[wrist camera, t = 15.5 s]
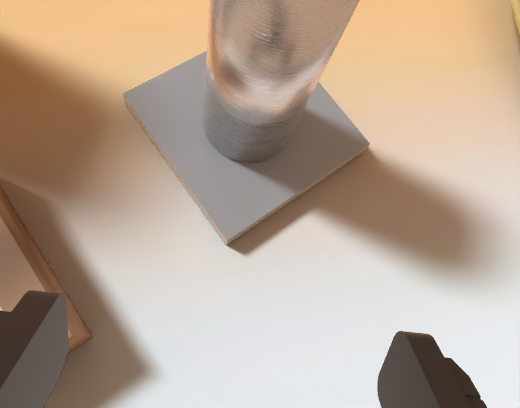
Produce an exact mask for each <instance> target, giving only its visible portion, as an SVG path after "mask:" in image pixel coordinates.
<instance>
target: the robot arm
mask: <svg viewBox="0 0 520 408" xmlns="http://www.w3.org/2000/svg"><path fill="white" fill-rule="evenodd" d="M68 346H69V338H68V318H67V300H66V296H65V294H62V293H53V292H43V291H34V290H29V291H27V292H26V293H25V294H24V295H23V297H22V298H21V299H20V301H19V302H18V304H17V305H16V306H15V308H14V309H13V310H12V312H7V311H0V408H44V406H45V404H46V402H47V400H48V398H49V396H50V394H51V392H52V390H53V388H54V386H55V384H56V382H57V380H58V378H59V376H60V374H61V372H62V370H63V367H64V364H65V361H66V358H67V353H68ZM378 397H379V401H380V404H381V407H382V408H487V407H486V405H485V403H484V401H483V400H481V399H480V397H481V396H480V395H479V393H478V391H477V389H476V388H475V386H474V384H473V383H472V381H471V379H470V377H469V376H468V375H467V374H466V373H465V372H464V371H463V370H462V369H461V368H460V367H459V366H458V365H457V364H456V363H455V362H454V361H453V360H452V359H451V358H444V356H443V354H442V352H441V351H440V349H439V347H438V345H437V343H436V341H435V340H434V338H433V337H432V336H431V335H429V334H422V333H413V332H404V331H399V332H397V333H396V334H395V336H394V338H393V341H392V343H391V346H390V348H389V351H388V353H387V356H386V358H385V361H384V363H383V365H382V368H381V370H380V373H379V377H378Z"/></svg>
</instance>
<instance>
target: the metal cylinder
mask: <svg viewBox="0 0 520 408" xmlns="http://www.w3.org/2000/svg"><path fill="white" fill-rule="evenodd" d="M358 2H359V0H210V10H209V25H208V41H207V57H206V73H205V88H204V104H203V128H204V132H205V134H206V137H207V139H208V140H209V142H210V143H211V145H212V146H213V147H214V148H215V149H216V150H217V151H218V152H219V153H221V154H222V155H224V156H225V157H227V158H229V159H232V160H234V161H237V162H242V163H259V162H263V161H266V160H269V159H271V158H273V157H274V156H276V155H277V154H278V153H280V152H281V151H282V150H283V148H284V147H285V146H286V144H287V142H288V140H289V138H290V137H291V135H292V133H293V131H294V129H295V127H296V125H297V123H298V121H299V119H300V117H301V115H302V113H303V111H304V109H305V107H306V105H307V103H308V101H309V99H310V97H311V95H312V93H313V91H314V89H315V87H316V85H317V83H318V81H319V79H320V77H321V75H322V73H323V71H324V69H325V67H326V65H327V64H328V62H329V60H330V58H331V56H332V54H333V52H334V50H335V48H336V46H337V44H338V42H339V40H340V38H341V36H342V34H343V32H344V30H345V28H346V26H347V24H348V22H349V20H350V18H351V16H352V14H353V12H354V10H355V8H356V6H357V4H358Z"/></svg>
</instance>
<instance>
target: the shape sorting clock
mask: <svg viewBox="0 0 520 408" xmlns="http://www.w3.org/2000/svg"><path fill="white" fill-rule="evenodd" d="M510 1H511V6H512V10H513V15H514V20H515V23H516V26H517V29H518V32H519V35H520V0H510Z"/></svg>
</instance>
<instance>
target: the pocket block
mask: <svg viewBox="0 0 520 408" xmlns="http://www.w3.org/2000/svg"><path fill="white" fill-rule="evenodd" d="M29 290H34V291H43V292H53V293H62V294H65V296H66V300H67V318H68V338H69V346H68V353H69V352H70V351H72V350H73V349H75V348H76V347H78V346H79V345H81V344H82V343H84V342H85V341H87V340H88V339H90V338H91V337H92V335H91V333H90V332H89V330H88V329H87V327H86V325H85V324H84V322H83V320H82V319H81V317H80V316H79V314H78V312H77V311H76V309H75V307H74V306H73V304H72V302H71V301H70V299H69V298H68V296H67V294H66V293H65V291H64V289H63V288H62V286H61V284H60V283H59V281H58V280H57V278H56V276H55V275H54V273H53V271H52V270H51V268H50V267H49V265H48V263H47V262H46V260H45V258H44V257H43V255H42V253H41V252H40V250H39V249H38V247H37V245H36V244H35V242H34V240H33V239H32V237H31V236H30V234H29V232H28V231H27V229H26V227H25V226H24V224H23V222H22V221H21V219H20V218H19V216H18V214H17V213H16V211H15V209H14V208H13V206H12V205H11V203H10V201H9V200H8V198H7V196H6V195H5V193H4V191H3V190H2V188H1V187H0V306H1V308H2V310H3V311H7V312H12V310H13V309H14V308H15V306H16V305H17V304H18V302H19V301H20V299H21V298H22V297H23V295H24V294H25V293H26V292H27V291H29Z"/></svg>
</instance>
